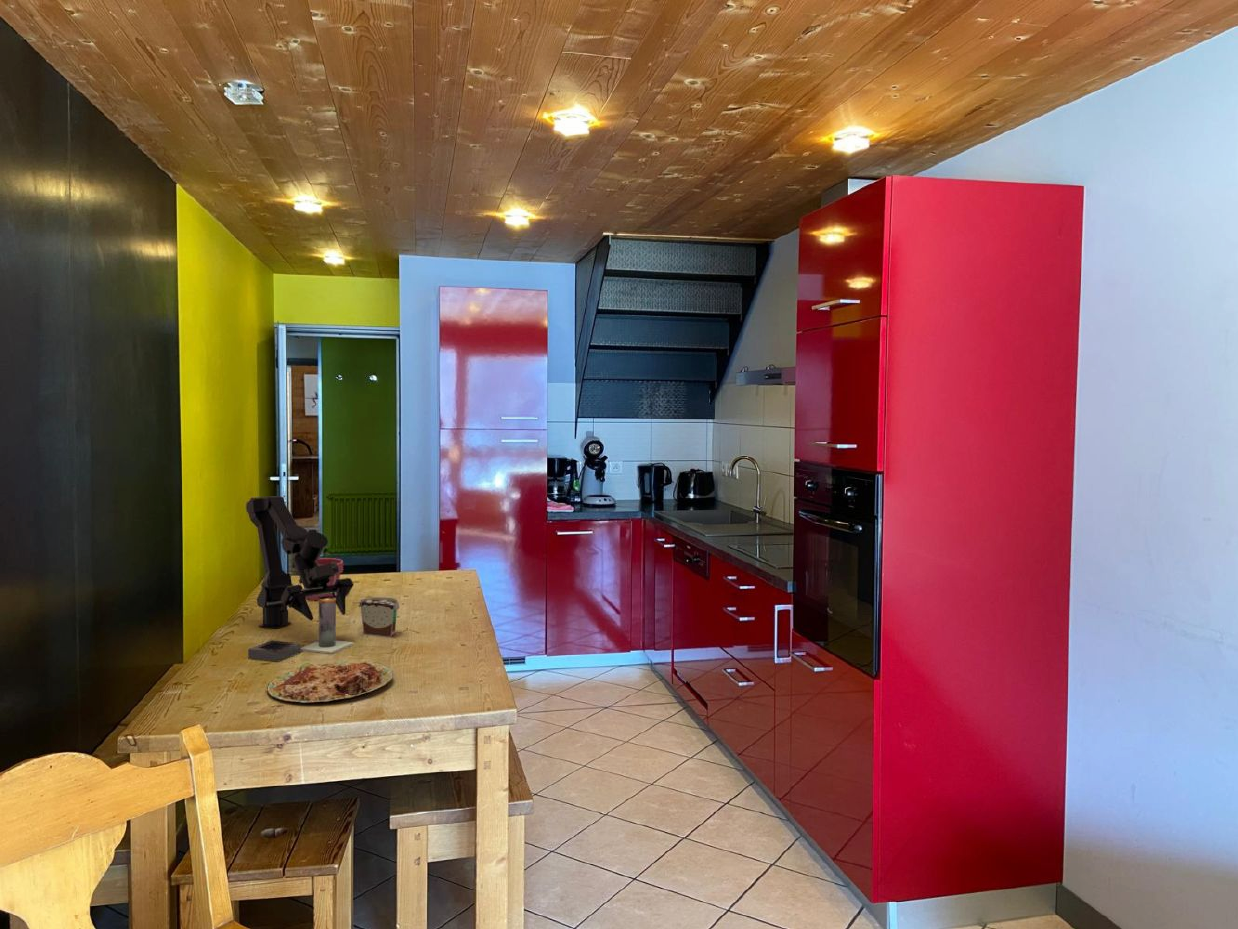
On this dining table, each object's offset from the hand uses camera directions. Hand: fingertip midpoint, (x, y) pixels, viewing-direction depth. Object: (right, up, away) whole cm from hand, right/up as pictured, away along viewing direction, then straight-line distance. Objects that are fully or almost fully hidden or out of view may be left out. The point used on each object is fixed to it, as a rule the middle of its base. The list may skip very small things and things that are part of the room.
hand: (328, 616), depth 230 cm
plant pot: (-24, -5, +62) cm, 67 cm away
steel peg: (-1, -8, +1) cm, 8 cm away
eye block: (-12, -9, -7) cm, 16 cm away
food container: (+10, -8, +17) cm, 21 cm away
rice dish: (+11, -11, -31) cm, 35 cm away
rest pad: (-1, -9, +1) cm, 9 cm away
